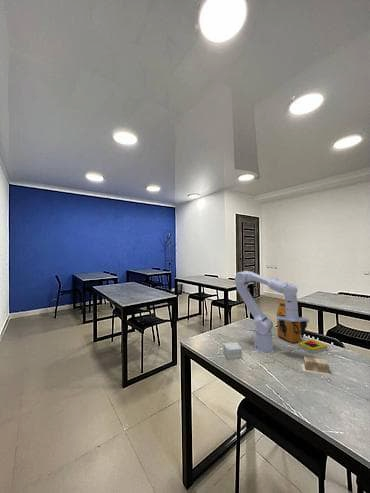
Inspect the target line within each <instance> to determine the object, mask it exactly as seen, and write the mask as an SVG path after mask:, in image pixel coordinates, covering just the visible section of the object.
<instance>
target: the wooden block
mask: <svg viewBox="0 0 370 493" xmlns="http://www.w3.org/2000/svg"><path fill="white" fill-rule="evenodd" d="M303 364H304V366H305V370H309V371H315V372H322V373H328V374H330V364H329V361H328V360H327V359H323V358H318V357H308V356H303Z"/></svg>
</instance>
